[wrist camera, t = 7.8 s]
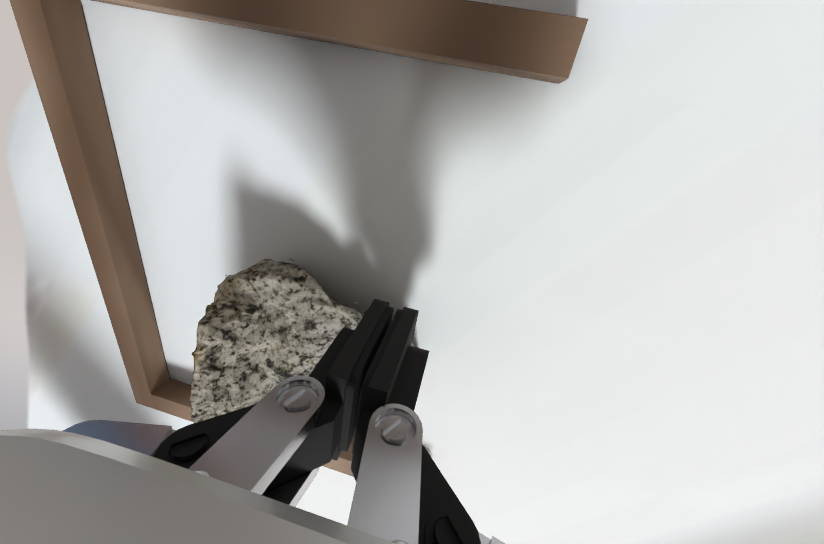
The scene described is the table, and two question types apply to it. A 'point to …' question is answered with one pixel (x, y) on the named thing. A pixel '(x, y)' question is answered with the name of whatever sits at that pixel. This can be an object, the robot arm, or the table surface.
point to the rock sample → (261, 336)
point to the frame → (266, 11)
